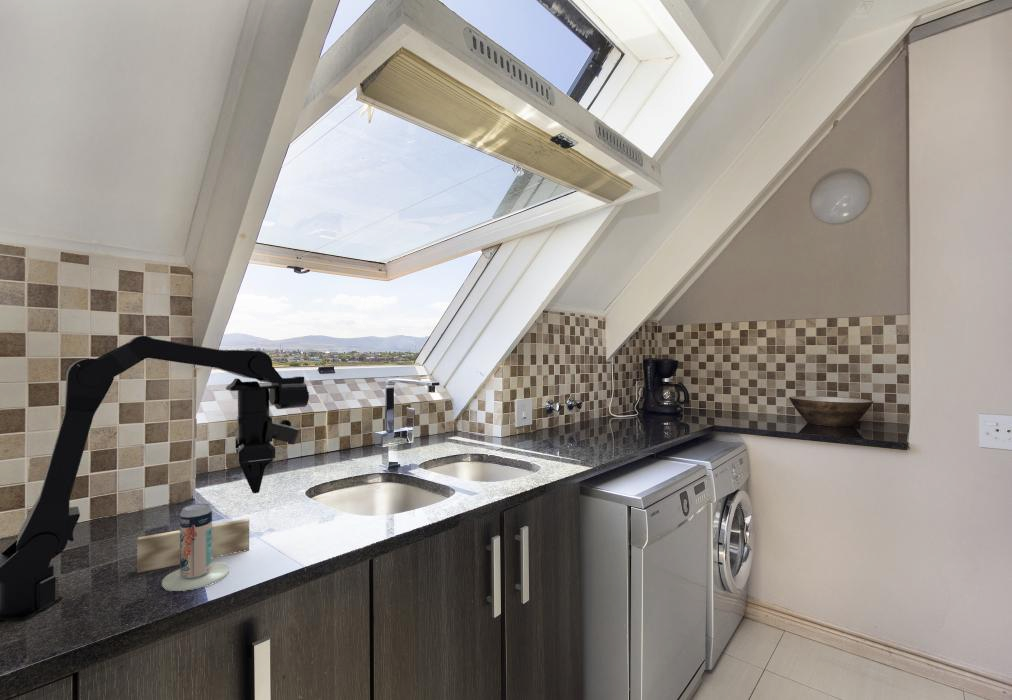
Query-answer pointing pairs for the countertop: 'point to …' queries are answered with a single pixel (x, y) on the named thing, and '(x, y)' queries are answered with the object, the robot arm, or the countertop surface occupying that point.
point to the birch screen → (167, 545)
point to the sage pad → (182, 584)
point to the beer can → (195, 541)
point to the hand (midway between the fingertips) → (254, 487)
